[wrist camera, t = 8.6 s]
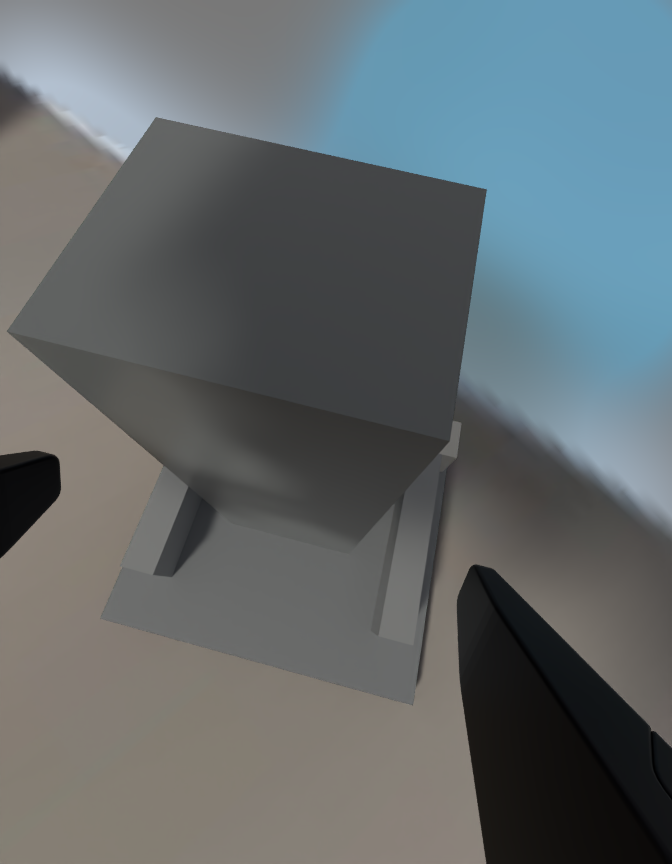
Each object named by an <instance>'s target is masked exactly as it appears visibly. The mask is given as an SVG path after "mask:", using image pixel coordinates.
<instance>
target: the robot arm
mask: <svg viewBox="0 0 672 864" xmlns="http://www.w3.org/2000/svg"><path fill="white" fill-rule="evenodd" d="M60 491H61V479H60V463H59V459H58V458H57V457H56V456H55V455H53V454H49V453H45V452H41V451H29V452H21V453H14V454H7V455H0V558H1V557H2V556H3V555H4V554H5V553H6V552H7V551H8V550H9V549H10V548H11V547H12V546H13V545H14V544H15V543H16V542H17V541H18V540H19V539H20V538H21V537H22V536H23V535H24V534H25V533H26V531H27V530H28V529H29V528H30V527H31V526H32V525H33V524H34V523H35V522H36V521H37V520H38V519H39V518H40V517H41V516H42V515H43V513H44V512H45V511H46V510H47V509H48V508H49V507H50V506H51V505H52V504H53V503H54V502H55V501H56V499H57V498H58V496H59V494H60ZM457 625H458V652H459V674H460V685H461V694H462V700H463V707H464V714H465V721H466V728H467V735H468V741H469V748H470V755H471V762H472V769H473V775H474V782H475V789H476V796H477V803H478V810H479V816H480V823H481V830H482V837H483V844H484V851H485V857H486V864H672V748H671V747H670V746H669V745H668V744H667V743H666V742H665V741H664V740H663V739H662V738H661V737H660V736H659V735H658V734H657V733H656V732H654V731H651V728H650V726H649V725H648V724H647V723H646V722H645V721H644V720H643V719H642V718H641V717H640V716H639V715H638V714H637V713H636V712H635V711H634V710H633V709H632V708H631V707H630V706H629V705H628V704H627V703H626V702H625V701H624V700H623V699H622V698H621V697H620V696H619V695H618V694H617V693H616V692H615V691H614V690H613V689H612V688H611V687H610V686H609V685H608V684H607V683H606V682H605V681H604V680H603V679H602V678H601V677H600V676H599V675H598V674H597V673H596V672H595V671H594V670H593V669H592V668H591V667H590V666H589V664H588V663H587V662H586V661H585V660H584V659H583V658H582V657H581V656H580V655H579V654H578V653H577V652H576V651H575V650H574V649H573V648H572V647H571V646H570V645H569V644H568V643H567V642H566V641H565V640H564V639H563V638H562V637H561V636H560V635H559V634H558V633H557V632H556V631H555V630H554V629H553V628H552V627H551V626H550V625H549V624H548V623H547V622H546V621H545V620H544V619H543V618H542V617H541V616H540V615H539V614H538V613H537V612H536V611H535V610H534V609H533V608H532V607H531V606H530V605H529V604H528V603H527V602H526V601H525V600H524V599H523V598H522V597H521V596H520V595H519V594H518V593H517V592H516V591H515V590H514V589H513V588H512V587H511V586H510V585H509V584H508V583H507V582H506V581H505V580H504V579H503V578H502V577H501V576H500V575H499V574H498V573H497V572H496V571H495V570H494V569H492V568H488V567H484V566H480V565H476V564H475V565H473V566H471V568H470V569H469V571H468V573H467V576H466V578H465V580H464V583H463V585H462V587H461V590H460V592H459V595H458V599H457Z"/></svg>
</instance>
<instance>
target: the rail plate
mask: <svg viewBox="0 0 672 864" xmlns="http://www.w3.org/2000/svg"><path fill="white" fill-rule="evenodd" d="M461 424H462V423H460V422H456V421H453V423H452V430H451V437H450V442H449V443H448V444H447V445H446V446H445V447H444V448H443V449H442V451H441V452H440V453H439V454H438V455H437V456H436V457H435V458H434V459H433V461H432V462H431V463H430V464H429V465H428V466H427V467H426V468H425V470H424V471H423V472H422V473H421V474H420V475H419V476H418V477H417V478H416V480H415V481H414V482H413V483H412V484H411V485H410V486H409V487H408V489H407V490H406V491H405V492H404V493H403V494H402V495H401V496H400V497H399V499H398V500H397V501H396V502H395V503H394V504H393V505H392V506H391V508H390V509H389V510H388V511H387V512H386V513H385V514H384V515H383V516H382V518H381V519H380V520H379V521H378V522H377V523H376V524H375V525H374V527H373V528H372V529H371V530H370V531H369V532H368V533H367V534H366V535H365V537H364V538H363V539H362V540H361V541H360V542H359V543H358V544H357V546H356V547H355V548H354V549H353V550H352V551H351V552H350V553H349V554H346V553H342V552H338V551H335V550H331V549H327V548H323V547H320V546H316V545H312V544H308V543H304V542H301V541H297V540H293V539H289V538H285V537H282V536H278V535H274V534H270V533H266V532H263V531H259V530H255V529H251V528H247V527H244V526H240V525H236V524H232V523H231V522H230V521H228V520H227V519H226V518H225V517H224V516H223V515H221V514H220V513H219V512H218V511H217V510H216V509H214V508H213V507H212V506H211V505H210V504H208V503H207V502H206V501H205V500H204V499H203V498H201V497H200V496H199V495H198V494H197V493H196V492H194V491H193V490H192V489H191V488H190V487H189V486H187V485H186V484H185V483H184V482H183V481H182V480H180V479H179V478H178V477H177V476H176V475H175V474H173V473H172V472H171V471H170V470H169V469H167V468H166V467H165V466H163V469H162V471H161V473H160V476H159V478H158V480H157V482H156V485H155V487H154V489H153V492H152V494H151V496H150V498H149V501H148V503H147V505H146V508H145V510H144V512H143V514H142V517H141V519H140V521H139V524H138V526H137V528H136V530H135V533H134V535H133V537H132V540H131V542H130V544H129V547H128V549H127V551H126V553H125V556H124V558H123V560H122V563H121V565H120V566H121V567H122V569H121V572H120V574H119V576H118V579H117V581H116V583H115V585H114V588H113V590H112V592H111V595H110V597H109V599H108V602H107V604H106V606H105V609H104V611H103V613H102V615H101V618H100V619H103V620H107V621H111V622H114V623H118V624H121V625H125V626H129V627H132V628H136V629H139V630H143V631H147V632H150V633H154V634H157V635H161V636H165V637H168V638H172V639H175V640H179V641H183V642H186V643H190V644H193V645H197V646H201V647H204V648H208V649H211V650H215V651H219V652H222V653H226V654H229V655H233V656H237V657H240V658H244V659H247V660H251V661H255V662H258V663H262V664H265V665H269V666H273V667H276V668H280V669H283V670H287V671H291V672H294V673H298V674H301V675H305V676H309V677H312V678H316V679H319V680H323V681H327V682H330V683H334V684H337V685H341V686H345V687H348V688H352V689H355V690H359V691H363V692H366V693H370V694H373V695H377V696H381V697H384V698H388V699H391V700H395V701H399V702H402V703H406V704H409V705H413V702H414V695H415V688H416V681H417V674H418V667H419V660H420V653H421V646H422V639H423V632H424V625H425V618H426V611H427V604H428V597H429V590H430V583H431V576H432V569H433V562H434V555H435V549H436V542H437V535H438V528H439V521H440V514H441V507H442V500H443V493H444V486H445V479H446V472H447V467H448V466H449V465H450V464H451V463H452V462H453V461H454V460H455V459H456V458H457V453H458V446H459V439H460V431H461Z"/></svg>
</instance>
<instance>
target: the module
mask: <svg viewBox="0 0 672 864" xmlns="http://www.w3.org/2000/svg"><path fill="white" fill-rule="evenodd" d="M486 191H487V190H486V189H481V188H477V187H472V186H468V185H464V184H459V183H455V182H449V181H445V180H441V179H436V178H432V177H427V176H422V175H418V174H413V173H409V172H404V171H399V170H395V169H390V168H386V167H381V166H376V165H372V164H367V163H363V162H358V161H353V160H348V159H344V158H340V157H335V156H331V155H326V154H322V153H317V152H312V151H308V150H303V149H299V148H294V147H290V146H285V145H280V144H276V143H271V142H267V141H262V140H257V139H253V138H248V137H243V136H239V135H235V134H229V133H225V132H221V131H216V130H211V129H207V128H203V127H198V126H193V125H188V124H184V123H180V122H175V121H170V120H166V119H161V118H157V117H156V118H155V119H154V121H153V122H152V124H151V125H150V127H149V128H148V130H147V131H146V132H145V134H144V135H143V137H142V138H141V140H140V141H139V142H138V144H137V145H136V147H135V148H134V150H133V151H132V152H131V154H130V155H129V157H128V158H127V160H126V161H125V162H124V164H123V165H122V167H121V168H120V170H119V171H118V172H117V174H116V175H115V177H114V178H113V180H112V181H111V183H110V184H109V185H108V187H107V188H106V190H105V191H104V193H103V194H102V195H101V197H100V198H99V200H98V201H97V203H96V204H95V206H94V207H93V208H92V210H91V211H90V213H89V214H88V216H87V217H86V218H85V220H84V221H83V223H82V224H81V226H80V227H79V228H78V230H77V231H76V233H75V234H74V236H73V237H72V239H71V240H70V241H69V243H68V244H67V246H66V247H65V249H64V250H63V251H62V253H61V254H60V256H59V257H58V259H57V260H56V261H55V263H54V264H53V266H52V267H51V269H50V270H49V272H48V273H47V274H46V276H45V277H44V279H43V280H42V282H41V283H40V284H39V286H38V287H37V289H36V290H35V292H34V293H33V295H32V296H31V297H30V299H29V300H28V302H27V303H26V305H25V306H24V307H23V309H22V310H21V312H20V313H19V315H18V316H17V317H16V319H15V320H14V322H13V323H12V325H11V326H10V328H9V329H8V330H7V332H8V333H9V334H10V335H12V336H13V337H14V338H15V339H16V340H18V341H19V342H20V343H21V344H22V345H23V346H25V347H26V348H27V349H28V350H29V351H30V352H32V353H33V354H34V355H35V356H36V357H37V358H39V359H40V360H41V361H42V362H43V363H44V364H46V365H47V366H48V367H49V368H50V369H51V370H53V371H54V372H55V373H56V374H57V375H59V376H60V377H61V378H62V379H63V380H64V381H66V382H67V383H68V384H69V385H70V386H71V387H73V388H74V389H75V390H76V391H77V392H78V393H80V394H81V395H82V396H83V397H84V398H85V399H87V400H88V401H89V402H90V403H91V404H93V405H94V406H95V407H96V408H97V409H98V410H100V411H101V412H102V413H103V414H104V415H105V416H107V417H108V418H109V419H110V420H111V421H112V422H114V423H115V424H116V425H117V426H118V427H119V428H121V429H122V430H123V431H124V432H125V433H126V434H128V435H129V436H130V437H131V438H132V439H134V440H135V441H136V442H137V443H138V444H139V445H141V446H142V447H143V448H144V449H145V450H146V451H148V452H149V453H150V454H151V455H152V456H153V457H155V458H156V459H157V460H158V461H159V462H160V463H162V464H163V465H164V466H165V467H166V468H167V469H169V470H170V471H171V472H172V473H173V474H175V475H176V476H177V477H178V478H179V479H180V480H182V481H183V482H184V483H185V484H186V485H187V486H189V487H190V488H191V489H192V490H193V491H194V492H196V493H197V494H198V495H199V496H200V497H201V498H203V499H204V500H205V501H206V502H207V503H208V504H210V505H211V506H212V507H213V508H214V509H216V510H217V511H218V512H219V513H220V514H221V515H223V516H224V517H225V518H226V519H227V520H228V521H230V522H231V523H232V524H236V525H240V526H244V527H247V528H251V529H255V530H259V531H263V532H266V533H270V534H274V535H278V536H282V537H285V538H289V539H293V540H297V541H301V542H304V543H308V544H312V545H316V546H320V547H323V548H327V549H331V550H335V551H338V552H342V553H346V554H349V553H350V552H351V551H352V550H353V549H354V548H355V547H356V546H357V544H358V543H359V542H360V541H361V540H362V539H363V538H364V537H365V535H366V534H367V533H368V532H369V531H370V530H371V529H372V528H373V527H374V525H375V524H376V523H377V522H378V521H379V520H380V519H381V518H382V516H383V515H384V514H385V513H386V512H387V511H388V510H389V509H390V508H391V506H392V505H393V504H394V503H395V502H396V501H397V500H398V499H399V497H400V496H401V495H402V494H403V493H404V492H405V491H406V490H407V489H408V487H409V486H410V485H411V484H412V483H413V482H414V481H415V480H416V478H417V477H418V476H419V475H420V474H421V473H422V472H423V471H424V470H425V468H426V467H427V466H428V465H429V464H430V463H431V462H432V461H433V459H434V458H435V457H436V456H437V455H438V454H439V453H440V452H441V451H442V449H443V448H444V447H445V446H446V445H447V444H448V443H449V442H450V437H451V430H452V423H453V416H454V410H455V403H456V396H457V389H458V382H459V375H460V369H461V362H462V355H463V348H464V341H465V334H466V327H467V320H468V314H469V306H470V300H471V293H472V286H473V279H474V273H475V266H476V259H477V252H478V245H479V239H480V232H481V225H482V218H483V211H484V204H485V197H486Z"/></svg>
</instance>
